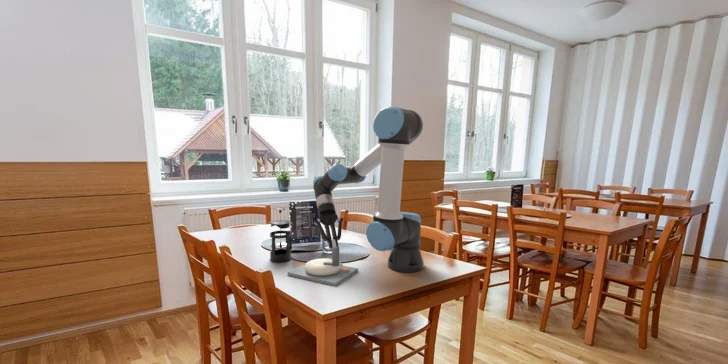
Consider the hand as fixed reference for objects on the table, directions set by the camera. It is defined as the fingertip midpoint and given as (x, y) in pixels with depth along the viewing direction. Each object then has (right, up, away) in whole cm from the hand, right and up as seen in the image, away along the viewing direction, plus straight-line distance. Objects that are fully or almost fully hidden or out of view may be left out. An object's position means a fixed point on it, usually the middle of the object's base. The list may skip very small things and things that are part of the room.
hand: (335, 255), depth 132 cm
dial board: (-5, -7, -1) cm, 8 cm away
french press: (-25, -5, +15) cm, 30 cm away
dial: (-5, -5, -1) cm, 7 cm away
